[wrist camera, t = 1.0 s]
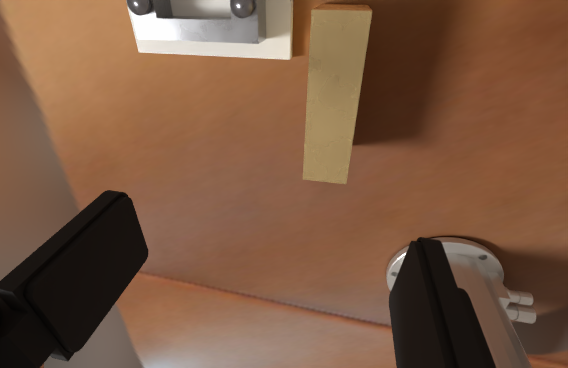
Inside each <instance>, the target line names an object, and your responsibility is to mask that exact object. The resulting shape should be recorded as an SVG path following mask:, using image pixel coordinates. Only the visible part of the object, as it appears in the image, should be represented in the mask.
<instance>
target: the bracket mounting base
mask: <svg viewBox="0 0 568 368" xmlns="http://www.w3.org/2000/svg"><path fill="white" fill-rule="evenodd" d="M126 1H127V5H128V7H129V9H130V10H131V11H132V15H133V19H134V23H135V28H136V32H137V36H138V39H150V40H175V41H199V42H224V43H248V44H259V43H261V42H263V41H264V40H266V0H230V8H231V17H204V16H173V14H172V8H171V2H170V0H126Z"/></svg>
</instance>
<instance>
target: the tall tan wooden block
mask: <svg viewBox="0 0 568 368" xmlns="http://www.w3.org/2000/svg"><path fill="white" fill-rule="evenodd" d="M371 17H372V10H371V9H370V7H369V6H368V5H356V4H320V5H319V6H317V7H315V8H314V9H312V14H311V33H310V52H309V71H308V90H307V109H306V128H305V147H304V166H303V179H305V180H314V181H323V182H332V183H341V184H346V181H347V175H348V168H349V162H350V155H351V148H352V142H353V135H354V129H355V122H356V116H357V109H358V102H359V96H360V89H361V83H362V76H363V69H364V63H365V56H366V50H367V43H368V37H369V30H370V23H371Z"/></svg>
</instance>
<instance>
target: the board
mask: <svg viewBox="0 0 568 368" xmlns="http://www.w3.org/2000/svg"><path fill="white" fill-rule="evenodd" d="M126 2H127V1H126ZM170 2H171V8H172V14H173V16H204V17H231V8H230V0H170ZM127 6H128V5H127ZM128 10H129V14H130V18H131V22H132V26H133V30H134V34H135V38H136V42H137V46H138V50H139V52H143V53H164V54H185V55H205V56H226V57H247V58H267V59H288V60H290V59H291V58H292V35H293V0H266V40H264V41H263V42H261V43H259V44H248V43H224V42H199V41H175V40H150V39H138V36H137V32H136V28H135V23H134V19H133V15H132V11H131V10H130V9H129V7H128Z"/></svg>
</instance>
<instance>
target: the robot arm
mask: <svg viewBox="0 0 568 368" xmlns="http://www.w3.org/2000/svg"><path fill="white" fill-rule="evenodd" d="M147 257H148V248H147V245H146V242H145V239H144V236H143V233H142V230H141V227H140V224H139V221H138V218H137V215H136V211H135V208H134V205H133V202H132V200H131V198H129V197H128V195H127V194H126V193H124V192H118V191H111V190H107V191H105V192H103V193H102V194H101V195H100V196H99V197H97V198H96V199H95V200H94V201H93V202H92V203H90V204H89V205H88V206H87V207H86V208H85V209H84V210H82V211H81V212H80V213H79V214H78V215H77V216H75V217H74V218H73V219H72V220H71V221H70V222H68V223H67V224H66V225H65V226H64V227H63V228H61V229H60V230H59V231H58V232H57V233H56V234H54V235H53V236H52V237H51V238H50V239H49V240H47V241H46V242H45V243H44V244H43V245H42V246H40V247H39V248H38V249H37V250H36V251H35V252H33V253H32V254H31V255H30V256H29V257H28V258H26V259H25V260H24V261H23V262H22V263H21V264H20V265H18V266H17V267H16V268H15V269H14V270H12V271H11V272H10V273H9V274H8V275H7V276H5V277H4V278H3V279H2V280H1V281H0V368H44V362H45V361H46V360H47V358H48V357H49V356H51V357H52V358H55V359H60V360H64V361H69V360H70V358H71V357H72V356H73V354H74V353H75V352H77V351H79V350H80V349H81V348H82V347H83V346H84V345H85V343H86V342H87V341H88V339H89V338H90V336H91V335H92V334H93V332H94V331H95V330H96V328H97V327H98V326H99V324H100V323H101V321H102V320H103V319H104V317H105V316H106V315H107V313H108V312H109V311H110V309H111V308H112V306H113V305H114V304H115V302H116V301H117V300H118V298H119V297H120V295H121V294H122V293H123V291H124V290H125V289H126V287H127V286H128V284H129V283H130V282H131V280H132V279H133V278H134V276H135V275H136V273H137V272H138V271H139V269H140V268H141V267H142V265H143V264H144V263H145V261H146V259H147ZM386 277H387V284H388V287H389V289H390V291H391V292H390V296H389V308H390V316H391V324H392V333H393V341H394V349H395V357H396V365H397V368H532V366H531V364H530V362H529V360H528V358H527V355H526V353H525V351H524V349H523V347H522V345H521V343H520V341H519V338H518V336H517V334H516V332H515V330H514V328H513V326H512V324H511V322H510V319H512V320H514V321H520V322H526V323H534V322H535V320H536V312H535V310H534V308H533V307H532V306H530V305H532V304H533V296H532V294H531V293H529V292H523V291H516V290H515V291H512V290H508V288H507V287H504V285H503V281H504V272H503V268H502V266H501V264H500V262H499V260H498V258H497V257H496V256H495V255H494V254H493V253H492V251H490V250H489V249H487V248H486V247H485V246H483V245H480V244H478V243H476V242H473V241H470V240H466V239H461V238H453V237H439V238H431V239H429V238H422V237H419V238H418V239H417V241H411V243H410V245H409V246H407V247H405V248H404V249H402V250H400V251H399V252H398V253H397V254H396V255H395V256H394V257H393V258H392V259H391V261H390V262H389V265H388V267H387V272H386ZM510 302H514V303H510Z"/></svg>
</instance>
